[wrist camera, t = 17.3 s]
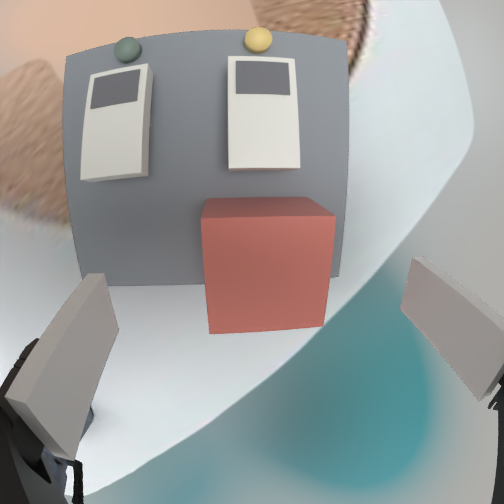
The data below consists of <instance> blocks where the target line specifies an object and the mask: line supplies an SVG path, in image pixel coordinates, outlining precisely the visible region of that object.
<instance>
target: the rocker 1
mask: <svg viewBox="0 0 504 504" xmlns="http://www.w3.org/2000/svg"><path fill="white" fill-rule="evenodd" d="M152 84H153V72H152V70H151V68H150V66H149V64H148V63H147V64H141V65H135V66H129V67H124V68H118V69H114V70H109V71H104V72H100V73H96V74H92V75H91V76H90V81H89V87H88V94H87V101H86V108H85V116H84V126H83V137H82V151H81V176H80V180H83V181H88V182H97V181H105V180H113V179H122V178H132V177H142V176H148V160H149V127H150V109H151V95H152Z"/></svg>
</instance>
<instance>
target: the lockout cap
mask: <svg viewBox="0 0 504 504" xmlns="http://www.w3.org/2000/svg"><path fill="white" fill-rule="evenodd" d="M335 224H336V216H335V215H334V214H332V213H331V212H329V211H328V210H327V209H325V208H324V207H322V206H321V205H319V204H318V203H316V202H314V201H313V200H311V199H310V198H308V197H241V198H209V199H206V202H205V206H204V209H203V213H202V216H201V233H202V250H203V264H204V277H205V290H206V301H207V312H208V323H209V333H210V334H224V333H245V332H262V331H276V330H289V329H300V328H310V327H320V326H323V324H324V317H325V311H326V304H327V297H328V289H329V281H330V273H331V264H332V255H333V246H334V235H335Z"/></svg>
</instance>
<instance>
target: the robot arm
mask: <svg viewBox="0 0 504 504" xmlns="http://www.w3.org/2000/svg"><path fill="white" fill-rule="evenodd" d="M400 310H401V311H402V312H403V313H404V314H405V315H406V316H407V317H408V318H409V319H410V320H411V321H412V322H413V324H414V325H415V326H416V327H417V328H418V329H419V330H420V331H421V332H422V334H423V335H424V336H425V337H426V338H427V339H428V340H429V341H430V343H431V344H432V345H433V346H434V347H435V348H436V350H437V351H438V352H439V353H440V354H441V355H442V357H443V358H444V359H445V360H446V361H447V363H448V364H449V365H450V366H451V367H452V368H453V370H454V371H455V372H456V373H457V375H458V376H459V377H460V378H461V380H462V381H463V382H464V383H465V384H466V386H467V387H468V388H469V390H470V391H471V392H472V393H473V395H474V396H475V397H476V399H477V400H478V401H481V400H482V399H484V398H485V397H487V396H489V395H490V394H491V393H492V391H493V390H494V388H495V387H496V385H497V384H498V383H499V384H500V385H501V388H500V389H499V391H498V392H497V394H496V395H495V396H494V398H493V399H492V401H491V402H490V403H489V406H488V409H490V408H491V407H492V406H493V404H494V403H495V402H497V403H496V405H495V406H494V408H493V410H498V433H499V434H498V456H497V468H496V477H495V485H494V492H493V498H492V503H491V504H504V317H502V316H501V315H500V314H499V313H498V312H497V311H495V310H494V309H493V308H492V307H490V306H489V305H488V304H487V303H486V302H484V301H483V300H482V299H481V298H479V297H478V296H477V295H476V294H474V293H473V292H472V291H471V290H469V289H468V288H467V287H465V286H464V285H463V284H461V283H460V282H459V281H458V280H456V279H455V278H453V277H452V276H451V275H449V274H448V273H447V272H445V271H444V270H443V269H441V268H440V267H439V266H437V265H436V264H434V263H433V262H431V261H430V260H429V259H427V258H426V257H424V256H423V257H412V262H411V266H410V271H409V276H408V279H407V283H406V287H405V291H404V295H403V299H402V302H401V306H400ZM118 331H119V328H118V324H117V321H116V318H115V314H114V310H113V307H112V303H111V299H110V295H109V291H108V287H107V283H106V279H105V275H104V273H91V274H87V275H86V277H85V278H84V279H83V280H82V282H81V283H80V284H79V285H78V287H77V288H76V289H75V291H74V292H73V293H72V294H71V296H70V297H69V298H68V300H67V301H66V302H65V304H64V305H63V306H62V308H61V309H60V310H59V312H58V313H57V315H56V316H55V317H54V319H53V320H52V322H51V323H50V324H49V326H48V327H47V329H46V330H45V332H44V333H43V335H42V336H41V338H40V339H38V338H36V339H35V340H33V341H32V342H31V343H30V344H29V345H27V346H26V347H25V349H24V350H23V352H22V353H21V355H20V356H19V360H17V361H16V363H15V364H14V368H12V369H11V371H10V372H9V374H8V376H7V377H6V379H5V381H4V382H3V384H2V386H1V387H0V504H68V503H67V501H66V499H65V497H64V495H63V493H62V491H61V489H60V487H59V485H58V483H57V481H56V479H55V477H54V475H53V473H52V471H51V468H50V466H49V464H48V461H47V459H46V458H45V456H44V455H43V454H42V452H43V449H44V446H45V447H46V448H47V449H48V450H49V451H50V452H51V453H52V454H53V455H54V456H57V457H61V458H64V459H68V460H72V461H74V460H75V457H76V453H77V449H78V446H79V442H80V439H81V435H82V432H83V428H84V425H85V422H86V419H87V415H88V412H89V409H90V406H91V403H92V400H93V397H94V394H95V391H96V389H97V386H98V383H99V380H100V377H101V375H102V372H103V369H104V367H105V364H106V361H107V359H108V356H109V354H110V351H111V348H112V346H113V343H114V341H115V339H116V336H117V334H118Z"/></svg>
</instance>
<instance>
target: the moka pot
mask: <svg viewBox="0 0 504 504" xmlns="http://www.w3.org/2000/svg"><path fill="white" fill-rule="evenodd" d="M92 421H93V414H92V412H91V410H90V409H89V412H88V415H87V419H86V422H85V425H84V428H83V432H82V435H81V439H82V437H83V436H84V434H85V432H86V431H87V429H88V428H89V426H90V424H91V423H92ZM81 439H80V441H81ZM42 454H43V455H44V456H45V458H46V459H47V461H48V464H49V466H50V468H51V471H52V473H53V475H54V477H55V479H56V481H57V483H58V485H59V487H60V489H61V491H62V493H63V495H64V492H65V486H66V481H67V475H66V469H67V466H72V467H73V469H74V486H73V487H74V488H73V489H74V490H73V492H74V494H73V498H72V503H73V504H84V503H83V497H84V496H83V492H82V491H83V481H82V479H83V471H82V462H80V461H77V460H74V461H72V460H68V459H64V458H61V457H57V456H54V455H53V454H52V453H51V452H50V451H49V450H48V449H47V448H46V447H45V446H44V449H43V452H42Z"/></svg>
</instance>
